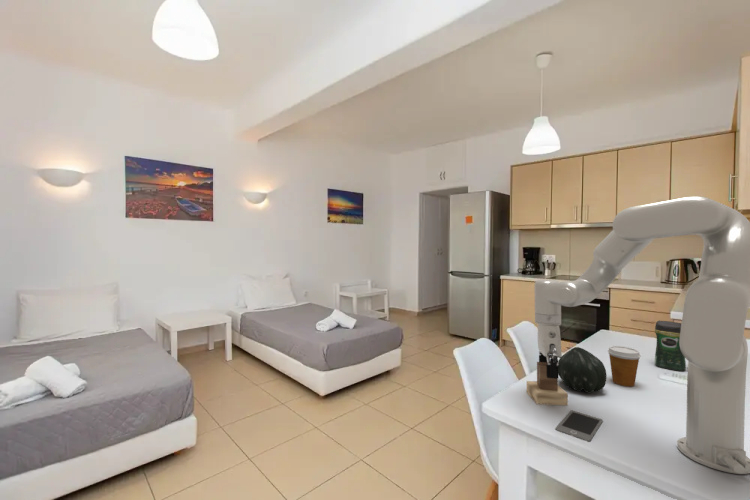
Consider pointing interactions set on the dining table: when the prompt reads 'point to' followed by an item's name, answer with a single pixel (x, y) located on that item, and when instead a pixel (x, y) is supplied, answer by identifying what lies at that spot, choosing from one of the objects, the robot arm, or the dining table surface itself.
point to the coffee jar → (669, 346)
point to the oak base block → (546, 395)
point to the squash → (582, 370)
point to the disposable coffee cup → (624, 365)
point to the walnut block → (545, 378)
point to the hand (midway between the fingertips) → (548, 372)
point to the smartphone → (579, 425)
